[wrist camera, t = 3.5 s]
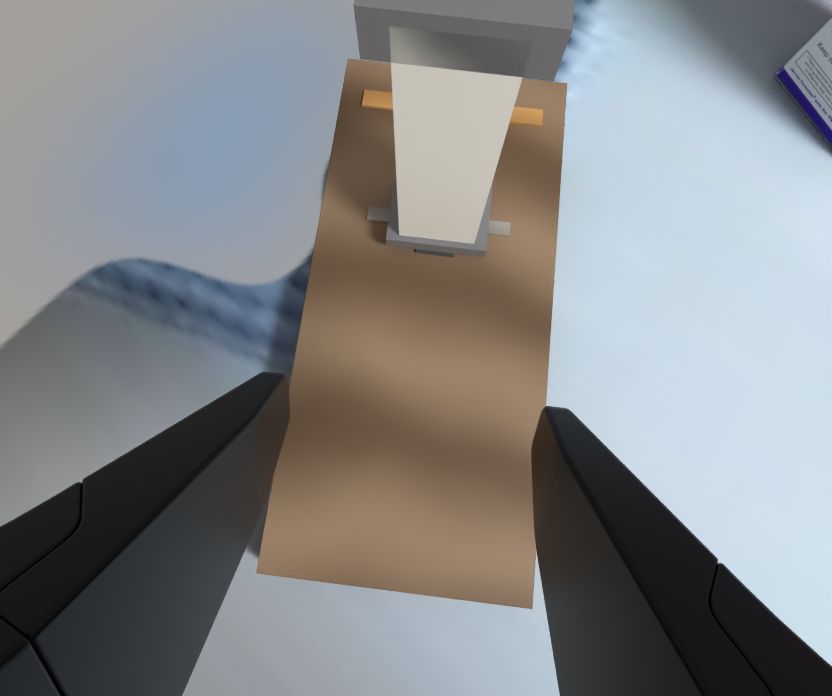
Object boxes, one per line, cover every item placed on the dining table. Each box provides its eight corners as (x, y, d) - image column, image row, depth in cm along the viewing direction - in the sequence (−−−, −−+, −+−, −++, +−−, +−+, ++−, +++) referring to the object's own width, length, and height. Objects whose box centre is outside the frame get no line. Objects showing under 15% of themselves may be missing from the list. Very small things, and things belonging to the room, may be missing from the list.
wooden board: (523, 598, 20) (532, 609, 18) (267, 565, 20) (255, 574, 18) (557, 105, 25) (567, 81, 23) (351, 82, 25) (347, 56, 23)
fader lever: (489, 257, 21) (572, 40, 10) (381, 245, 21) (351, 15, 10) (495, 191, 22) (579, -79, 11) (391, 179, 22) (372, -102, 11)
